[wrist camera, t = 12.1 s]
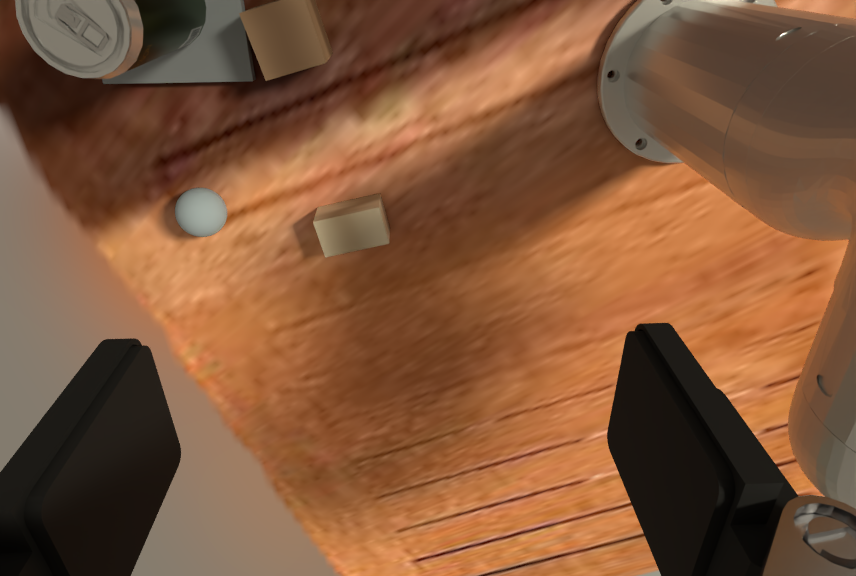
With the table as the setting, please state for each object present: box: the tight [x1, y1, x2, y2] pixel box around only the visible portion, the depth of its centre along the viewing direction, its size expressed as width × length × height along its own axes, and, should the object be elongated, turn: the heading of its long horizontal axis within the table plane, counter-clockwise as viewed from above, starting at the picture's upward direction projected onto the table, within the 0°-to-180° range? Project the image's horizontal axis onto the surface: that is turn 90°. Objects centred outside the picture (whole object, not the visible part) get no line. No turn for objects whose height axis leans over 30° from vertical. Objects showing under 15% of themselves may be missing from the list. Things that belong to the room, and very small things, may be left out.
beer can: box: [15, 0, 206, 79], centre depth 32 cm, size 5×5×12 cm
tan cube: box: [239, 0, 333, 81], centre depth 37 cm, size 4×4×4 cm
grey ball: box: [175, 188, 227, 237], centre depth 43 cm, size 4×4×4 cm
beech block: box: [313, 193, 390, 258], centre depth 44 cm, size 5×3×3 cm, turn 102°
